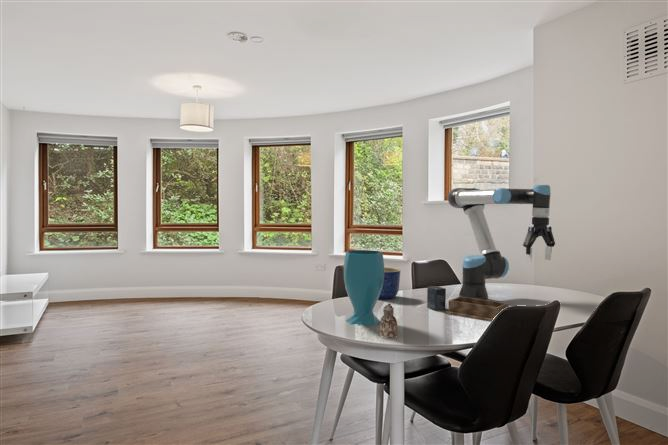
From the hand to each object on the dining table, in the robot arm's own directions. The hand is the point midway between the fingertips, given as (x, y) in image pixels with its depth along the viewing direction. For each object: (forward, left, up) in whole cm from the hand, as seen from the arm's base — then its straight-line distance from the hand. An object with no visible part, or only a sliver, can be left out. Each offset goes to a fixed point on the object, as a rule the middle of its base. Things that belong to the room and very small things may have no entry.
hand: (538, 260), depth 218 cm
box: (-37, -33, -24) cm, 55 cm away
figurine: (-30, -86, -24) cm, 94 cm away
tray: (-17, -31, -24) cm, 43 cm away
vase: (-50, -75, -24) cm, 93 cm away
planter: (-71, -27, -24) cm, 80 cm away
